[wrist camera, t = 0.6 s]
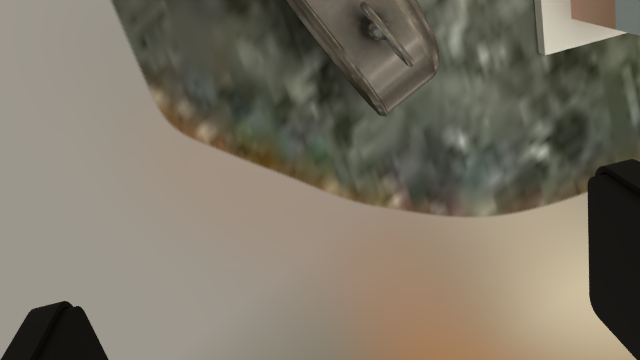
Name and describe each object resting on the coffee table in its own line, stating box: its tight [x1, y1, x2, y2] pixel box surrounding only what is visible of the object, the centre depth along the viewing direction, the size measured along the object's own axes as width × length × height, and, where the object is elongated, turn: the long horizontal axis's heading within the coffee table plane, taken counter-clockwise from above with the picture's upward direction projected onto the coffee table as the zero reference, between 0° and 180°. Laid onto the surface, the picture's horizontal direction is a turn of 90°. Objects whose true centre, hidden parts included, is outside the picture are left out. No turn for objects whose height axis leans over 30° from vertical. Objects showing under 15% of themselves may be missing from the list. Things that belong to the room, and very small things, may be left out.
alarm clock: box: [286, 0, 439, 116], centre depth 29 cm, size 11×5×16 cm, turn 38°
